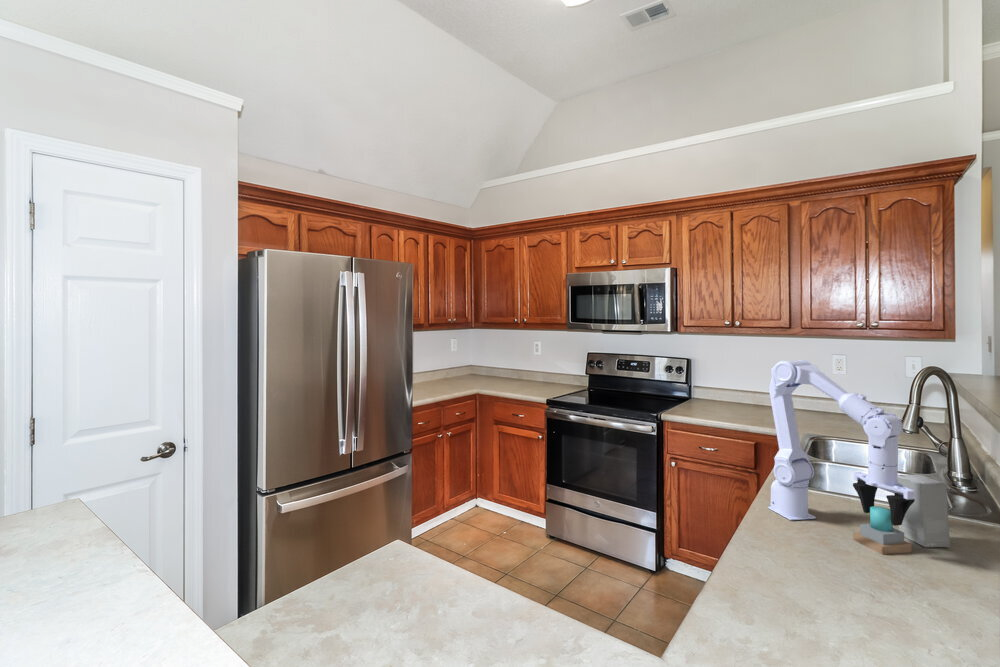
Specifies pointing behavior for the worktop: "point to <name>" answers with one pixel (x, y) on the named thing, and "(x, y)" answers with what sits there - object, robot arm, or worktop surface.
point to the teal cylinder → (880, 519)
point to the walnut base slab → (881, 548)
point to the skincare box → (926, 512)
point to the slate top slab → (882, 535)
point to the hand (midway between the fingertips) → (882, 518)
